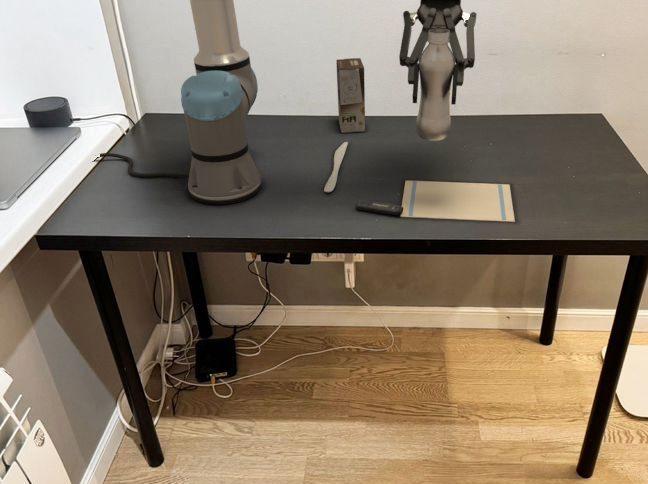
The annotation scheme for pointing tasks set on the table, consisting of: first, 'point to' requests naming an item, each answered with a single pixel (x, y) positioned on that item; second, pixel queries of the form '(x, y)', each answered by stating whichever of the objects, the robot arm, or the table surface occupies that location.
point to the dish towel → (457, 201)
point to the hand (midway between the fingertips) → (434, 100)
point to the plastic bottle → (435, 86)
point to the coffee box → (351, 95)
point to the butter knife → (336, 167)
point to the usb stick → (379, 207)
